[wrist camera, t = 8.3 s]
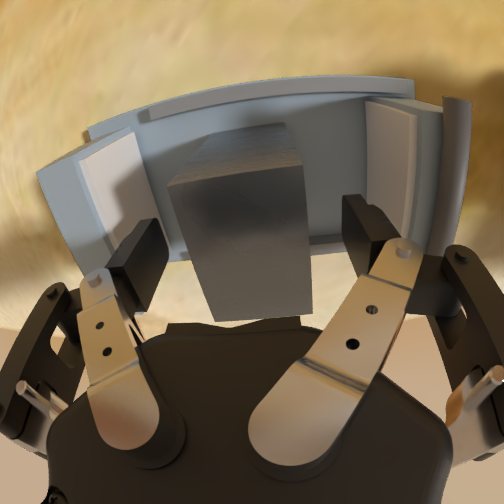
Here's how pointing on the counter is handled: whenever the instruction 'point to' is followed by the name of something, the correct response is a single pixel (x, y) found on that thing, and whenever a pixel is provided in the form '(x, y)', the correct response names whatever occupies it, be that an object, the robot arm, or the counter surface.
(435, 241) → the free jaw
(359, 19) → the counter surface
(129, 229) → the vise base
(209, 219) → the block
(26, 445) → the robot arm
